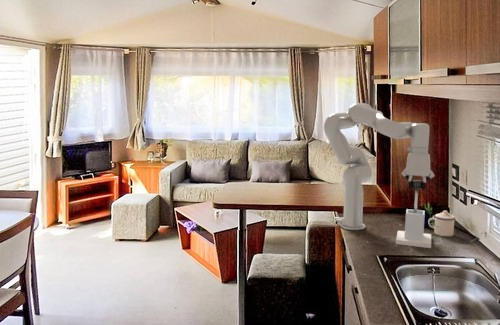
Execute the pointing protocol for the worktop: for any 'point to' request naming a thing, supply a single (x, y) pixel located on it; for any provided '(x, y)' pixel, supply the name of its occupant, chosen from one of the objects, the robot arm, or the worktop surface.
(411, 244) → the stand
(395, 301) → the worktop surface
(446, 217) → the teacup with lid
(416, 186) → the plunger
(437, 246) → the worktop surface
